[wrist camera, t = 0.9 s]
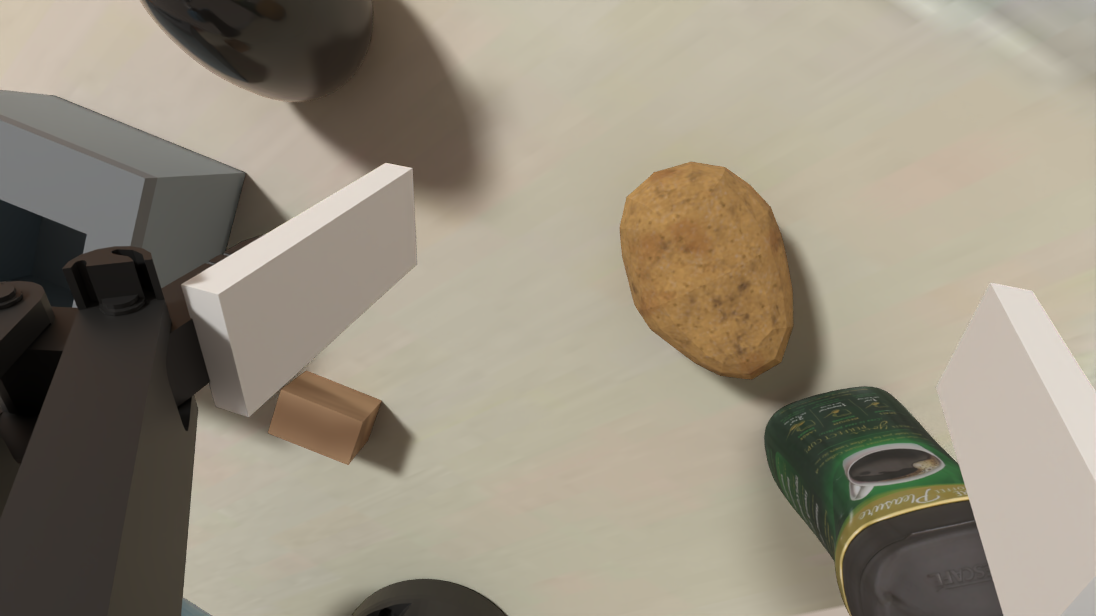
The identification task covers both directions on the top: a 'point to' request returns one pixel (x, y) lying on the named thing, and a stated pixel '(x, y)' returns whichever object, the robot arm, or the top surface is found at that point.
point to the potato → (709, 268)
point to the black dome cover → (271, 41)
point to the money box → (102, 194)
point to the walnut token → (324, 416)
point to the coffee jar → (882, 505)
